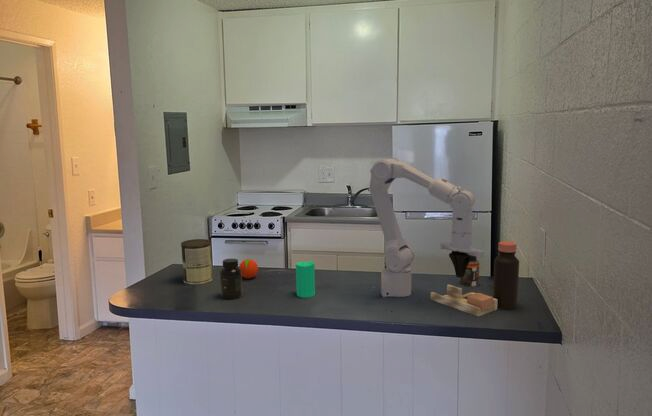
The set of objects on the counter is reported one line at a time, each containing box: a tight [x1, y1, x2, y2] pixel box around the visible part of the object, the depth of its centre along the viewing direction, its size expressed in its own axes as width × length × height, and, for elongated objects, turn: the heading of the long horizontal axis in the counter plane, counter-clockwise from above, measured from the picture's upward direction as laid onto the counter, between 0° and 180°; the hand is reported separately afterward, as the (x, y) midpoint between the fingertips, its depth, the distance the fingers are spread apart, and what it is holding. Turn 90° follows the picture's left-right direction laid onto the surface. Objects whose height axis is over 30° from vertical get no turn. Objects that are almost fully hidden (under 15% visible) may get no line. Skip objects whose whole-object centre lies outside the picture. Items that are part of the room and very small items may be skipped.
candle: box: [295, 260, 316, 298], centre depth 160 cm, size 6×6×12 cm
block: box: [466, 292, 493, 310], centre depth 142 cm, size 5×5×4 cm
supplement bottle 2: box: [459, 256, 480, 287], centre depth 166 cm, size 6×6×11 cm
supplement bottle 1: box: [219, 258, 243, 300], centre depth 160 cm, size 7×7×12 cm
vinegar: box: [492, 240, 520, 311], centre depth 144 cm, size 7×7×20 cm
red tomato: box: [238, 258, 259, 279], centre depth 179 cm, size 8×7×7 cm
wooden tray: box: [430, 284, 498, 317], centre depth 149 cm, size 18×16×4 cm
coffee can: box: [180, 238, 213, 285], centre depth 177 cm, size 10×10×14 cm
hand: (460, 276), depth 147 cm, fingers closed
